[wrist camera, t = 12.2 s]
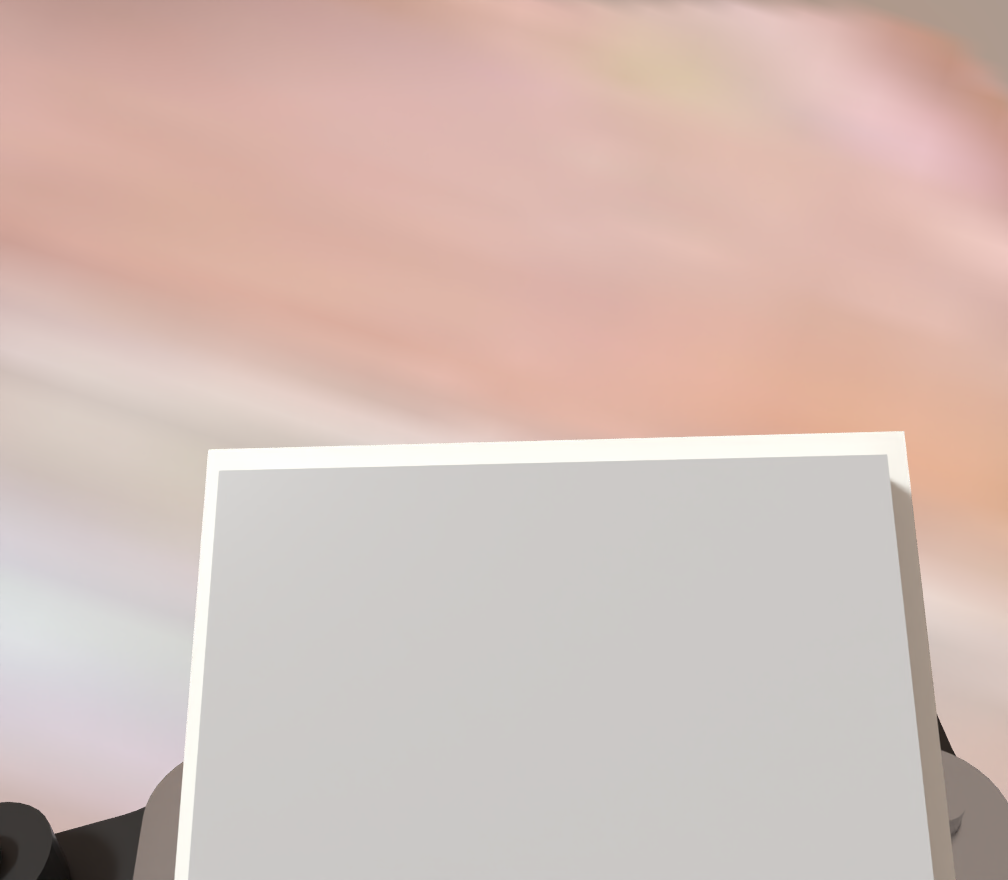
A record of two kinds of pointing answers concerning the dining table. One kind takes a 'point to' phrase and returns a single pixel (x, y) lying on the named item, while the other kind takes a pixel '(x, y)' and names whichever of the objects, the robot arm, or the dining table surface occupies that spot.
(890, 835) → the white tall rectangular block
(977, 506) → the dining table surface
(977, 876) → the robot arm
